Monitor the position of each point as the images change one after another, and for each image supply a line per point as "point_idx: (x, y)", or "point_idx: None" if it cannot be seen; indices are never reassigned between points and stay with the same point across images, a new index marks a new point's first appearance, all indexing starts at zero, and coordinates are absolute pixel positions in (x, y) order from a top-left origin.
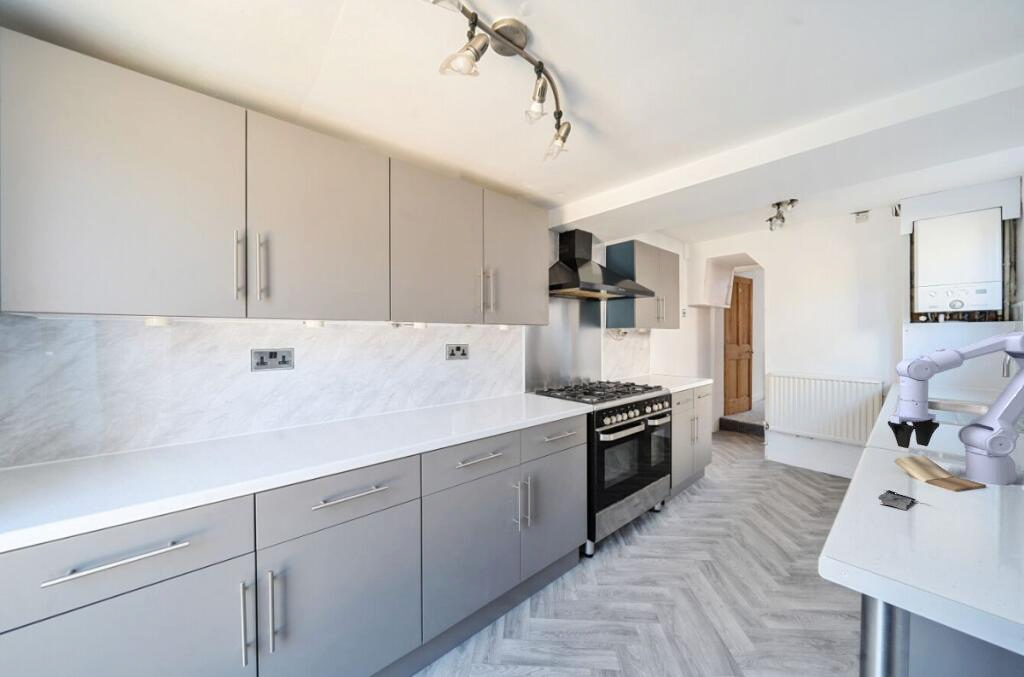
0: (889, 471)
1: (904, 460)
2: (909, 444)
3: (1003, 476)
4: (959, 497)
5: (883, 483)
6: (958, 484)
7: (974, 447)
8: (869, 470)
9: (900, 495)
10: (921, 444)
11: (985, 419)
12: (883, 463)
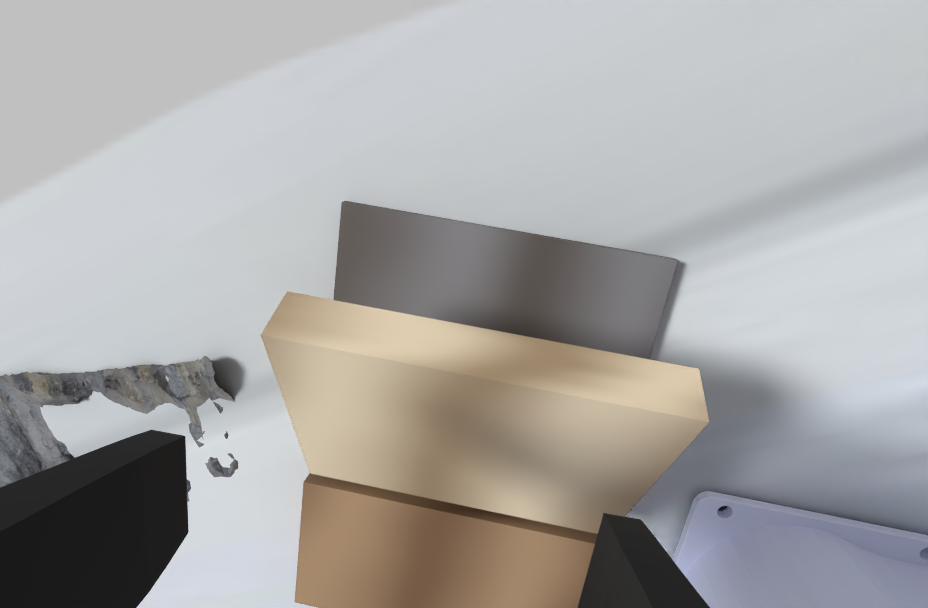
0: (474, 172)
1: (333, 370)
2: (137, 600)
3: None
4: None
5: (133, 291)
6: (414, 591)
7: None
8: (337, 78)
9: (17, 435)
10: (596, 570)
11: None
12: (720, 4)
